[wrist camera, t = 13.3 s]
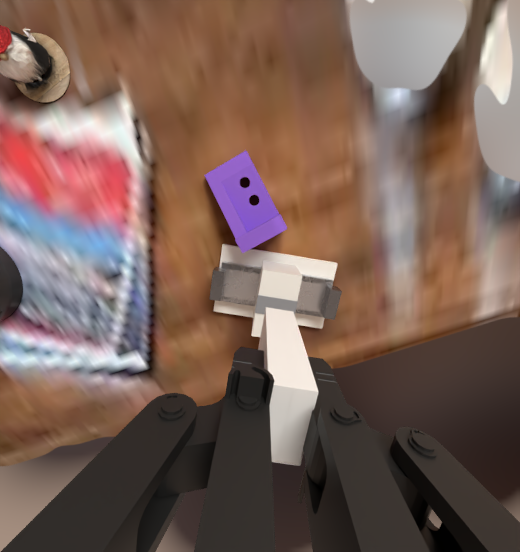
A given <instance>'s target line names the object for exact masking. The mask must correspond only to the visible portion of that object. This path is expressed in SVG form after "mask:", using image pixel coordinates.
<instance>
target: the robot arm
mask: <svg viewBox="0 0 520 552" xmlns="http://www.w3.org/2000/svg"><path fill="white" fill-rule="evenodd" d="M21 297H22V281H21V277H20V273H19V271H18V269H17V267H16V265H15V263H14V262H13V260H12V259H11V257H10V256H9V255H8V254H7V253H6V252H5V251H4V250H3V249H2V248H1V247H0V321H1V320H4V319H5V318H7V317H9V316H10V315H11V314H12V313H13V312H14V311H15V310H16V309H17V307H18V305H19V303H20V300H21ZM303 452H304V456H305V463H306V467H305V471H304V474H303V479H302V482H301V486H300V490H299V494H298V503H302V499H303V495H304V494H305V501H306V508H307V514H308V521H309V528H310V535H311V542H312V549H313V552H520V522H519V521H518V520H516V518H515V517H514V516H513V515H512V514H511V513H510V512H509V511H508V510H506V508H504V507H503V505H501V504H500V503H499V502H498V501H497V500H496V499H495V498H494V497H493V496H492V495H491V494H490V493H489V492H488V491H487V490H486V489H485V488H484V487H483V486H482V485H481V484H480V483H479V482H478V481H477V480H476V479H475V478H474V477H473V476H472V475H471V474H470V473H469V472H468V471H467V470H466V469H465V468H464V467H463V466H462V465H461V464H460V463H459V462H458V461H457V460H456V459H455V458H454V457H453V456H452V455H451V454H450V453H449V452H448V451H447V450H446V449H445V448H444V447H443V446H442V445H441V444H440V443H439V442H437V441H436V440H435V439H434V438H433V437H431V436H429V435H428V434H426V433H424V432H423V431H420V430H418V429H415V428H412V427H401V428H398V429H397V431H396V433H395V436H394V437H391V436H388V435H386V434H383V433H381V432H378V431H376V430H374V429H371V428H369V427H368V425H367V423H366V421H365V419H364V418H363V416H362V415H361V413H360V412H358V411H357V410H356V409H355V408H354V407H352V406H350V405H348V404H346V401H345V399H344V396H343V394H342V392H341V390H340V387H339V386H338V383H337V381H336V378H335V376H334V374H333V372H332V369H331V367H330V366H329V365H328V364H327V363H326V362H325V361H324V360H323V359H320V358H313V357H307V353H306V350H305V347H304V344H303V341H302V337H301V334H300V331H299V328H298V325H297V321H296V318H295V315H294V312H293V311H287V310H281V309H274V308H268V307H266V309H265V314H264V320H263V325H262V331H261V336H260V342H259V347H258V350H257V349H251V348H244V347H240V348H239V349H238V350H237V351H236V352H235V354H234V359H233V364H232V369H231V371H230V372H229V375H228V382H227V388H226V394H225V396H224V397H223V399H221V400H220V401H219V402H217V403H214V404H212V405H207V406H199V407H197V406H196V403H195V402H194V401H193V399H192V398H190V397H188V396H186V395H184V394H178V393H171V394H165V395H162V396H159V397H157V398H155V399H154V400H152V401H151V402H150V403H149V404H148V405H147V406H146V407H145V408H144V409H143V410H142V411H141V412H140V413H139V414H138V415H137V416H136V417H135V418H134V419H133V420H132V421H131V422H130V423H129V424H128V425H127V426H126V427H125V428H124V429H123V430H122V431H121V432H120V433H119V434H118V435H117V436H116V437H115V438H114V439H113V440H112V441H111V442H110V443H109V444H108V445H107V446H106V447H105V448H104V449H103V450H102V451H101V452H100V453H99V454H98V455H97V456H96V457H95V458H94V459H93V460H92V461H91V462H90V463H89V464H88V465H87V466H86V467H85V468H84V469H83V470H82V471H81V472H80V473H79V474H78V475H77V476H76V477H75V478H74V479H73V480H72V481H71V482H70V483H69V484H68V485H67V486H66V487H65V488H64V489H63V490H62V491H61V492H60V493H59V494H58V495H57V496H56V497H55V498H54V499H53V500H52V501H51V502H50V503H49V504H48V505H47V506H46V507H45V508H44V509H43V510H42V511H41V512H40V513H39V514H38V515H37V516H36V517H35V518H34V519H33V520H32V521H31V522H30V523H29V524H28V525H27V526H26V527H25V528H24V529H23V530H22V531H21V532H20V533H19V534H18V535H17V536H16V537H15V538H14V539H13V540H12V541H11V542H10V543H9V544H8V545H7V546H6V547H5V548H4V549H3V550H2V551H1V552H155V551H156V549H157V547H158V545H159V544H160V542H161V540H162V538H163V536H164V534H165V532H166V530H167V529H168V527H169V525H170V523H171V521H172V519H173V517H174V515H175V513H176V511H177V509H178V507H179V506H180V504H181V502H182V500H183V498H184V496H185V493H186V492H189V491H194V490H199V489H204V488H207V490H206V495H205V500H204V505H203V510H202V515H201V520H200V525H199V530H198V535H197V540H196V546H195V550H194V552H275V532H274V507H273V483H272V462H277V463H285V464H291V465H298V466H300V464H301V459H302V456H303ZM432 509H433V511H434V512H435V513H436V515H437V516H438V517H439V518H440V520H441V521H442V524H441V527H440V528H439V529H438V528H437V527H435V526H434V525H433V524H432V522H431V521H430V520H429V518H428V517H429V515H430V513H431V510H432Z"/></svg>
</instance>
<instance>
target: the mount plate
mask: <svg viewBox="0 0 520 552" xmlns="http://www.w3.org/2000/svg"><path fill="white" fill-rule="evenodd" d="M263 260H265V261H271V262H277V263H283V264H289V265H295V266H296V267H297V268H298V270H299V272H300V273H301V274H305V275H311V276H317V277H323V278H329V279H332V280H333V281H334V276H335V272H336V268H337V263H335V262H329V261H323V260H317V259H311V258H305V257H299V256H293V255H288V254H282V253H276V252H270V251H264V250H258V249H250V250H248V251H246V252H244V253H242V252H241V250H240V248H239V246H234V245H228V244H222V252H221V259H220V268H221V267H222V262H223V261H227V262H233V263H239V264H245V265H251V266H257V267H262V261H263ZM332 285H333V284H332ZM254 308H255V306H250V305H243V304H237V303H231V302H225V301H216V300H215V304H214V311H215V312H221V313H227V314H234V315H240V316H246V317H252V318H253V314H254ZM295 318H296V321H297V325H302V326H308V327H315V328H321V329H322V327H323V322H324V317H317V316H311V315H305V314H299V313H295Z"/></svg>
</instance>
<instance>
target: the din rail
mask: <svg viewBox="0 0 520 552" xmlns="http://www.w3.org/2000/svg"><path fill="white" fill-rule="evenodd" d="M260 273H261V267H257V266H251V265H245V264H239V263H233V262H227V261H223V262H222V267H221V268H220V267H216V268H215V269H214V270H213V276H212V284H211V291H210V300H216V301H225V302H231V303H237V304H243V305H250V306H255V302H256V296H257V291H258V285H259V279H260ZM301 275H302V281H301V286H300V291H299V295H298V300H297V301H298V303H297V307H296V312H295V313H299V314H305V315H311V316H317V317H324V318H327V319H333V320H335V316H336V312H337V308H338V304H339V300H340V296H341V292H342V291H341V290H340V289H339V288H338V287H334V286H332V284H333V280H332V279H329V278H323V277H317V276H311V275H305V274H301Z"/></svg>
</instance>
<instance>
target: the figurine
mask: <svg viewBox="0 0 520 552" xmlns="http://www.w3.org/2000/svg"><path fill="white" fill-rule="evenodd" d="M29 31H30V29H25V28H24V29H23V32H24V33H25V34H24V35H21V34H18V33H15V32H13V31H10V30H9V29H8V28H7V27H4V26H1V25H0V73H1V74H2V75H4V76H5V77H7V78H9V79H11V80H12V81H15V83H16V85H17V87H18V88H19V89H20V91H21V92H22V93H23V94H24V95H26V96H27V97H28V98H30V99H32V100H34V101H37V102H51V101H54V100H56V99H58V98H59V97H61V96H62V95H63V94H64V93H65V91H66V89H68V88H67V87H68V86H69V81H70V76H69V75H70V70H69V64H68V63H69V62H68V59H67V57H66V56H65V53H64V52H63V50H62V49H61V48H60V46H59V45H58V44H57V43H56V42H55V41H54V40H52V39H51V38H49V37H48V36H46V35H43V34H40V33H30V32H29ZM44 73H45V76H44V78H43V79H42V78H41V77H42V75H43V74H44ZM34 80H39V81H38V82H36V83H33V81H34Z"/></svg>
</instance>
